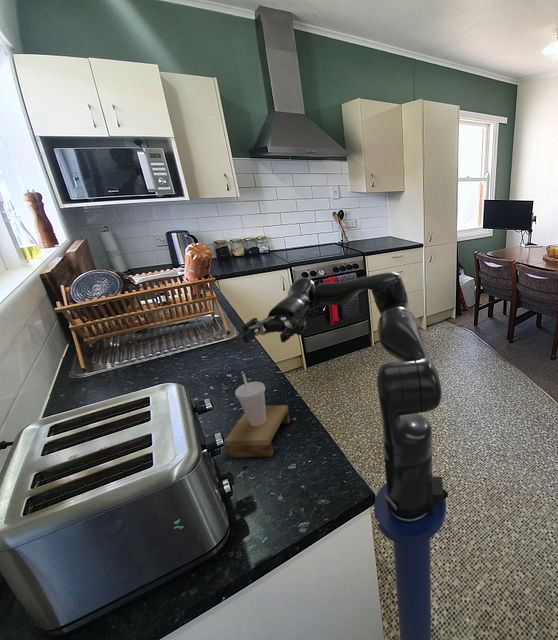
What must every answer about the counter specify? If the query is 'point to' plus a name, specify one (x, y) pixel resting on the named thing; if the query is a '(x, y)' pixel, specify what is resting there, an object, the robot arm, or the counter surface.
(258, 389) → the smoothie
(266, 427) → the bench
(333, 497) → the counter surface
